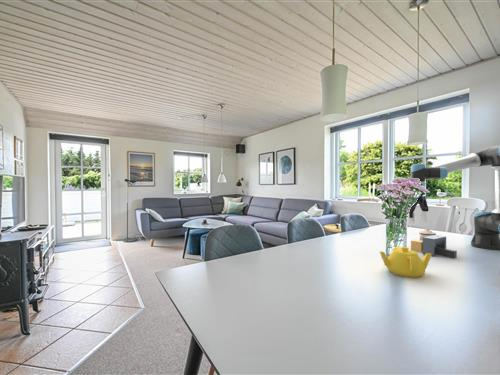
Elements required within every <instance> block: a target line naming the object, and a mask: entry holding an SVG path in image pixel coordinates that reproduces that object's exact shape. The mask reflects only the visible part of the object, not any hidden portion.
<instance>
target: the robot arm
mask: <svg viewBox="0 0 500 375" xmlns="http://www.w3.org/2000/svg"><path fill="white" fill-rule="evenodd" d="M486 166H491V169H493V170H494V209H493V210H492V211H476V212H475V213H474V215H473V216H474V217H473V219H474V220H473V221H474V222H473V223H474V227H473V228H474V229H473V230H474V232H473V236H472V238H471V241H470V246H472V247H475V248H479V249H485V250H497V251H499V250H500V145H494V146H489V147H487V148H483V149H481V150H478V151H475V152H472V153H469V155H467V156H462V157H460V158H456V159H452V160H449V161H444V162H441V163H438V164H433V165H431V166H426V163H414V164H411V165H410V172H409V173H410V179H411V178H419V179H420V181H421V184H422V186H424V187H425V188H426V185H427V183H426V180H443V179H446V178H447V177H448V175H449V174H450V173H453V172H458V171H463V170H465V169H468V168H479V167H486ZM427 202H428V201H427V197H426V192H425V193H422V194H421V196H420V197H419V198H418V200H417V202H416V203H415V204H414V205H413V206H412V207H411V209H410V212H408V222H409V223H408V224H415V220H416V219H415V218H416V217H415V215H416V214H415V210H416V208H417V206H419V207H420V209H421V211H420V222H423V223H424V222H427V212H429V206H428V203H427Z"/></svg>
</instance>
